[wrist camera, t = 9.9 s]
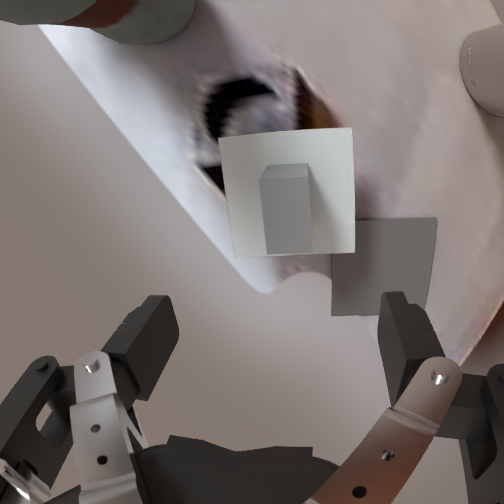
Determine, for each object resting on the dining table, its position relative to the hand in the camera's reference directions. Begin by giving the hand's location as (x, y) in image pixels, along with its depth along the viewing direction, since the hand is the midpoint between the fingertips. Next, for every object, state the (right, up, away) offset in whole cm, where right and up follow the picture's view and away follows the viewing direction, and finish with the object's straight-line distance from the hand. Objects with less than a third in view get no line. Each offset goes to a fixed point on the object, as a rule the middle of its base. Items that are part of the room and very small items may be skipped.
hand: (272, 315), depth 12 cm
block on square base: (+2, +7, +13) cm, 15 cm away
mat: (+13, +1, +20) cm, 24 cm away
